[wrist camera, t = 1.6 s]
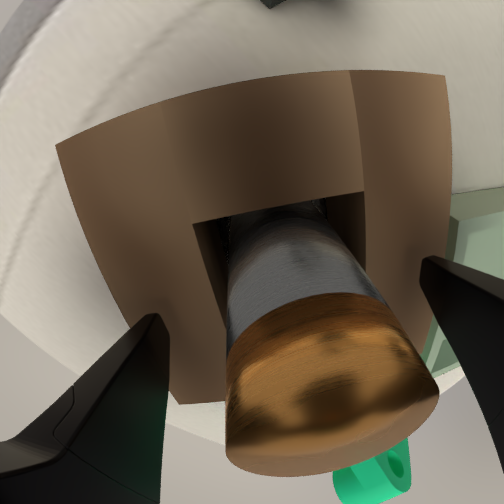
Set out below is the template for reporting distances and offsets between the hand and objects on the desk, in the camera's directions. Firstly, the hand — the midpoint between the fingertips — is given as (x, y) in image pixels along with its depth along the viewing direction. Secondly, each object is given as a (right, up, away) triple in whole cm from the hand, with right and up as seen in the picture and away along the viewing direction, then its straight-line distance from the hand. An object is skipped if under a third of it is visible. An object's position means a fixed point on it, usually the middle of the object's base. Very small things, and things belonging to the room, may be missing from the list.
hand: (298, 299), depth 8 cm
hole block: (0, +2, +5) cm, 6 cm away
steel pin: (0, +2, +5) cm, 6 cm away
